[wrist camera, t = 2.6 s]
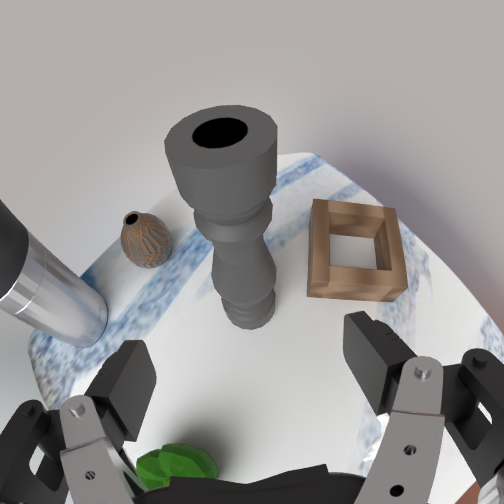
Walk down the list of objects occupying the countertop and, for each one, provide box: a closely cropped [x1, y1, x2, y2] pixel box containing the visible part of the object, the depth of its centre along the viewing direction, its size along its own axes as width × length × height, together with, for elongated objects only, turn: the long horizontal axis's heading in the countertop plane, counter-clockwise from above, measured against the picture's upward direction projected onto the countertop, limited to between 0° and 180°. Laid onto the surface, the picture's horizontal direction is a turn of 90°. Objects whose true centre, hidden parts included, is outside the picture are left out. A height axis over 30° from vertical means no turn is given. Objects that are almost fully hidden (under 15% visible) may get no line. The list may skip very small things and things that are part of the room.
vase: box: [121, 211, 171, 268], centre depth 35 cm, size 7×7×9 cm
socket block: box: [307, 199, 408, 302], centre depth 34 cm, size 12×12×5 cm
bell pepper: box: [136, 444, 218, 490], centre depth 19 cm, size 8×8×10 cm
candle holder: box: [164, 105, 277, 330], centre depth 23 cm, size 6×6×25 cm
